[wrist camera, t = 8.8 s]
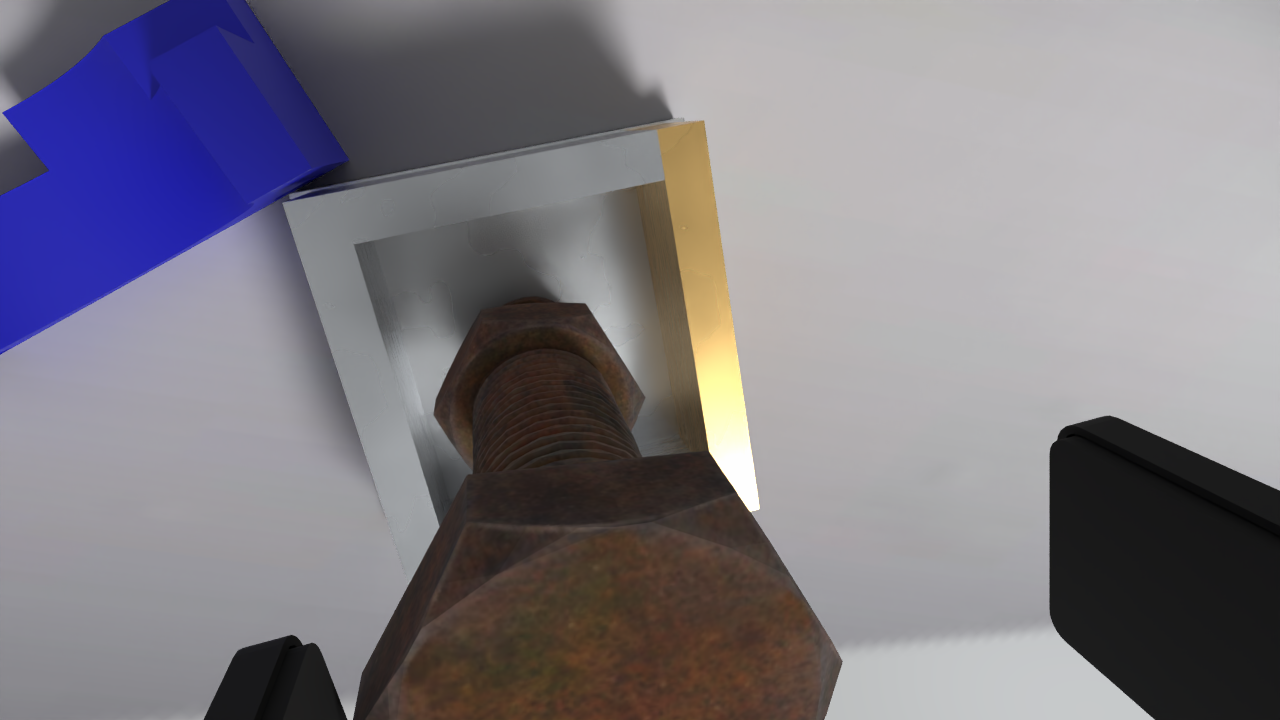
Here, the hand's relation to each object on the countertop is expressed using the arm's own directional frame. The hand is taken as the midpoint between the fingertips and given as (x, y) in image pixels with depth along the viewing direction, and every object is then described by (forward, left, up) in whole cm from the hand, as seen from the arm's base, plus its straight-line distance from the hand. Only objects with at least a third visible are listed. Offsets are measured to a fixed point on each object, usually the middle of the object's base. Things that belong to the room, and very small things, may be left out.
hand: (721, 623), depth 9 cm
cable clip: (+11, -6, -16) cm, 20 cm away
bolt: (+1, 0, -14) cm, 14 cm away
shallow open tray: (+1, 0, -15) cm, 15 cm away
